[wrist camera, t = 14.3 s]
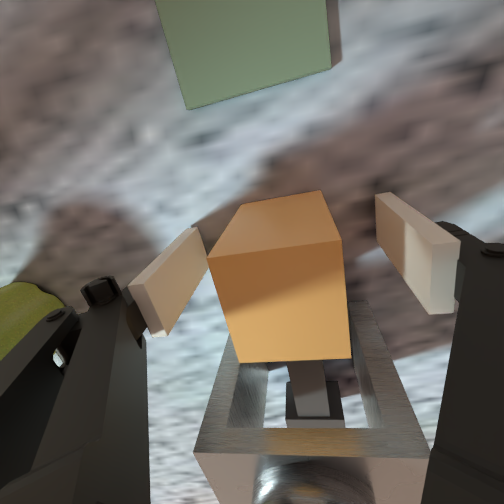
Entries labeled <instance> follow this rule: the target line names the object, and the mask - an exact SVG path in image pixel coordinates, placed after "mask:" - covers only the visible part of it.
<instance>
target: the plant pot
mask: <svg viewBox="0 0 504 504" xmlns="http://www.w3.org/2000/svg"><path fill="white" fill-rule="evenodd" d="M63 307H65V306H64V305H63V303H62V302H61V301H60V300H59V299H58V298H57V297H55V296H54V295H51V294H47V293H44V292H43V291H41V290H40V289H39V288H38V287H37V286H36V285H34V284H31V283H26V282H14V283H11V284H8V285H6V286H4V287H1V288H0V361H1V360H2V359H3V358H4V357H5V356H6V355H7V354H8V353H9V352H10V351H11V349H12V348H13V347H14V346H15V345H16V344H17V343H18V342H19V341H20V340H21V339H22V338H23V337H24V336H25V335H26V334H27V333H28V332H29V331H30V330H31V329H32V328H33V327H34V326H35V325H36V324H37V323H38V322H39V321H40V320H41V319H42V318H43V317H45V316H46V315H47V314H49V313H50V312H51V311H53V310H56V309H58V308H59V309H60V308H63ZM55 353H56V352H54V354H55ZM54 354H53V355H54Z"/></svg>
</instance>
